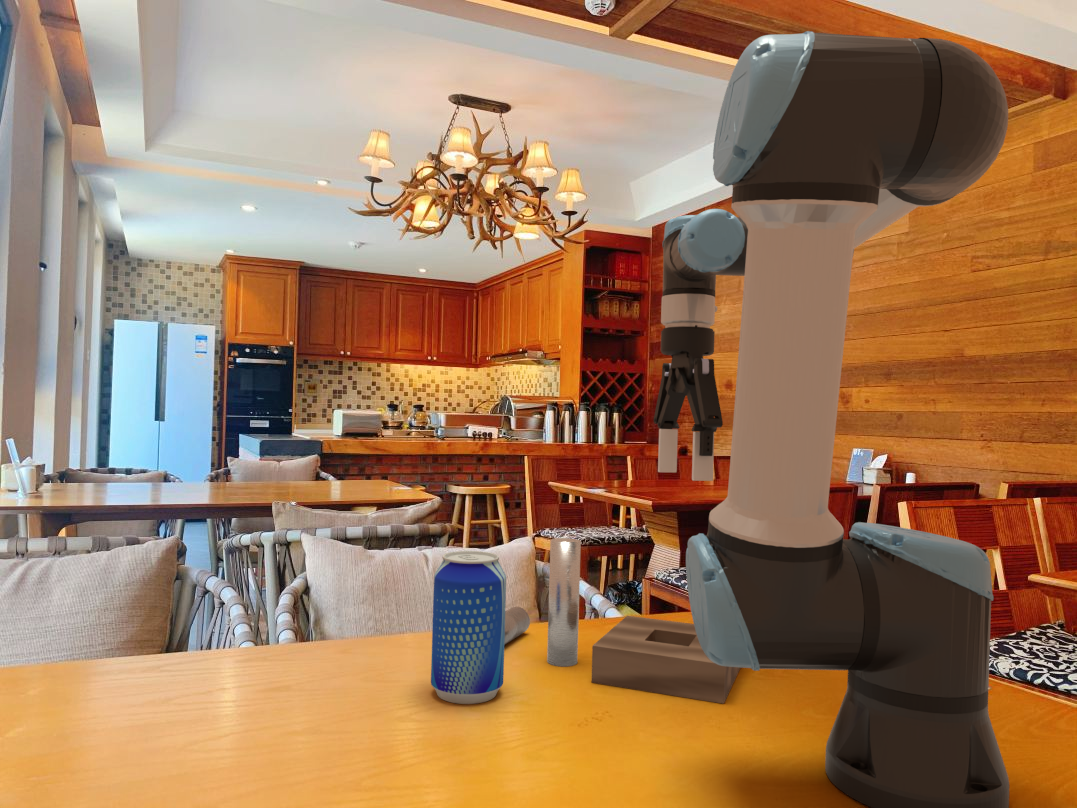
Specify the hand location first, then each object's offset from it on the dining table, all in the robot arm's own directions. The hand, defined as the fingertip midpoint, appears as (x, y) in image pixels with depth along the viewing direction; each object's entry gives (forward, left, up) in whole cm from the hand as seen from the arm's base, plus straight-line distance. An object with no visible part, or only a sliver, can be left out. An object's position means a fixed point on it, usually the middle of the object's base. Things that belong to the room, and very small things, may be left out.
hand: (683, 476), depth 114 cm
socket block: (-12, -1, -24) cm, 27 cm away
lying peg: (-10, +24, -24) cm, 36 cm away
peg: (-14, +13, -24) cm, 31 cm away
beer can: (-30, +19, -24) cm, 43 cm away
